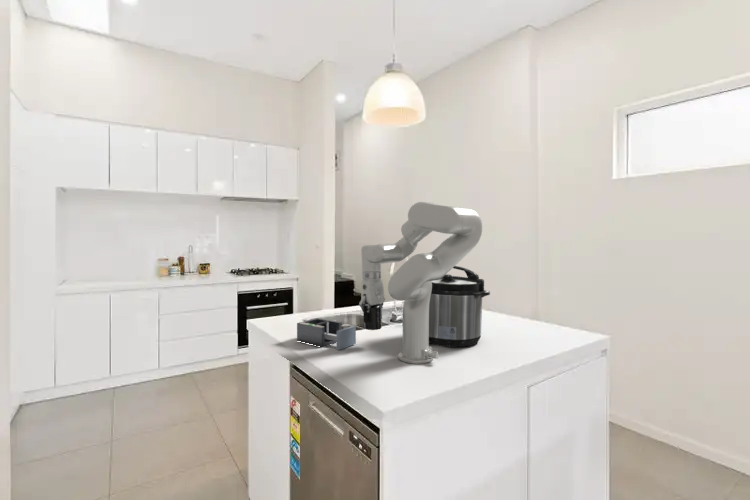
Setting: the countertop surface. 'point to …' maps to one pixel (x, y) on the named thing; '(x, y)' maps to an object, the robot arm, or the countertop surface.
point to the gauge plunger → (341, 336)
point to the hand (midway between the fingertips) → (373, 320)
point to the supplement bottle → (374, 318)
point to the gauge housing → (317, 331)
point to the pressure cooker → (456, 309)
